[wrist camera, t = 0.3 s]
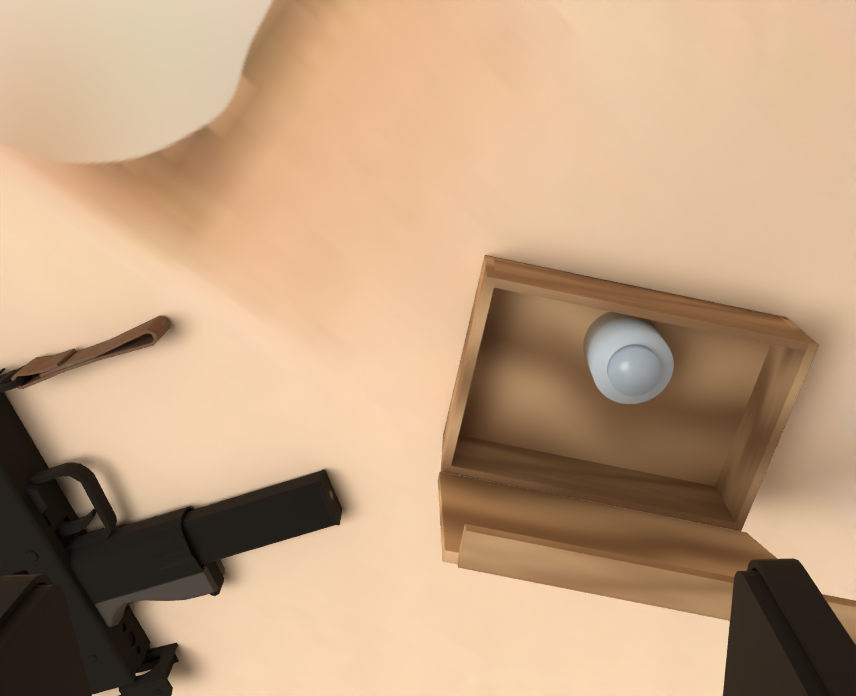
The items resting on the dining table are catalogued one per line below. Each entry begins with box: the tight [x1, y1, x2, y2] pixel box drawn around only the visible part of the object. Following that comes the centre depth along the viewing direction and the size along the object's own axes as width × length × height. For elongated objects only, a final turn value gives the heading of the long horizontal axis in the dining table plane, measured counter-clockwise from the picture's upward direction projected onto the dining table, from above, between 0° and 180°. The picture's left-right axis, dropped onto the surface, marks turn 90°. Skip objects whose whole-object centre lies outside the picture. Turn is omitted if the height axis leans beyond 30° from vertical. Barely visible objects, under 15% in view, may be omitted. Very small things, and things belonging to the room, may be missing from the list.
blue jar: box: [583, 311, 674, 404], centre depth 43 cm, size 4×4×4 cm
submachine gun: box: [0, 316, 342, 696], centre depth 50 cm, size 4×29×25 cm
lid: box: [438, 472, 856, 645], centre depth 38 cm, size 13×18×2 cm
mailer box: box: [441, 255, 819, 531], centre depth 45 cm, size 12×18×4 cm, turn 79°
